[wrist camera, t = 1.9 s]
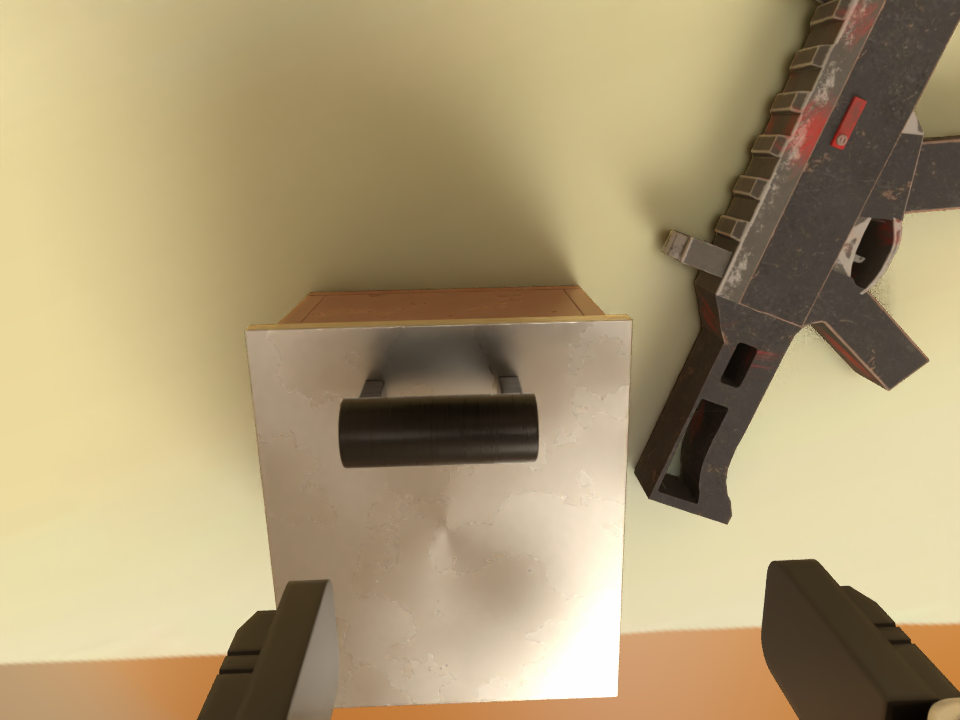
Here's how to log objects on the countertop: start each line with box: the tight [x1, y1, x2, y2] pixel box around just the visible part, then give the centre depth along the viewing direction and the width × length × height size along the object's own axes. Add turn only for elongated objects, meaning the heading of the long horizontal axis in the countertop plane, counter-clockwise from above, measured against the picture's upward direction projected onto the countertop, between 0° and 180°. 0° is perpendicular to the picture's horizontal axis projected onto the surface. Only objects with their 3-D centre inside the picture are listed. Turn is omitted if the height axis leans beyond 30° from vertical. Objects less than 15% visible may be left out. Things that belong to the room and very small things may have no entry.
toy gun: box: [634, 0, 960, 524], centre depth 32 cm, size 3×32×15 cm
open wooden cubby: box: [278, 285, 605, 324], centre depth 31 cm, size 14×13×10 cm
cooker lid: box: [245, 315, 633, 708], centre depth 24 cm, size 15×13×6 cm
